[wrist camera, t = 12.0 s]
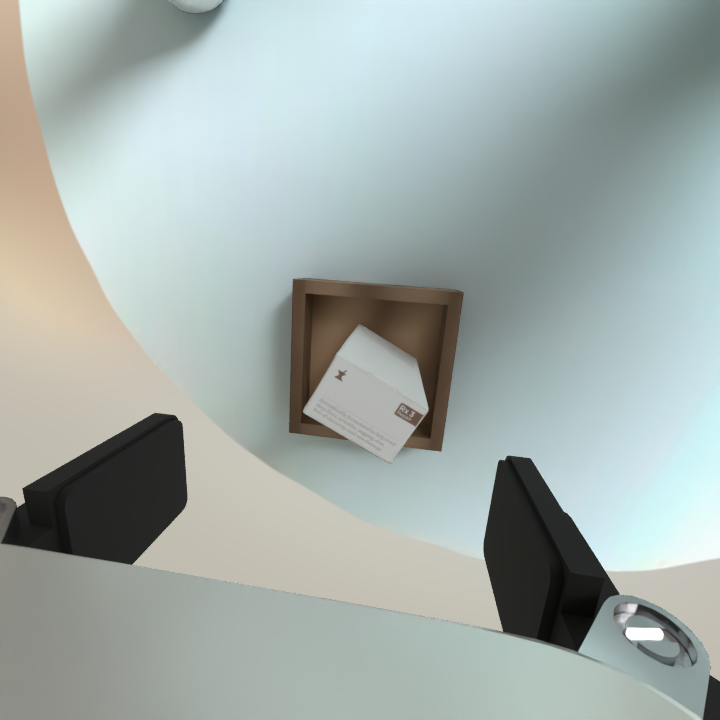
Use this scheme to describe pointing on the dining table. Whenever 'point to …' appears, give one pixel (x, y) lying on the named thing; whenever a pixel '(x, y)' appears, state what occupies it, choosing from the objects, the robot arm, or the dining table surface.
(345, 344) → the skincare box
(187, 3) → the plastic bottle
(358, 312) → the walnut tray
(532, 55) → the dining table surface
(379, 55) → the dining table surface
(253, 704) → the robot arm
